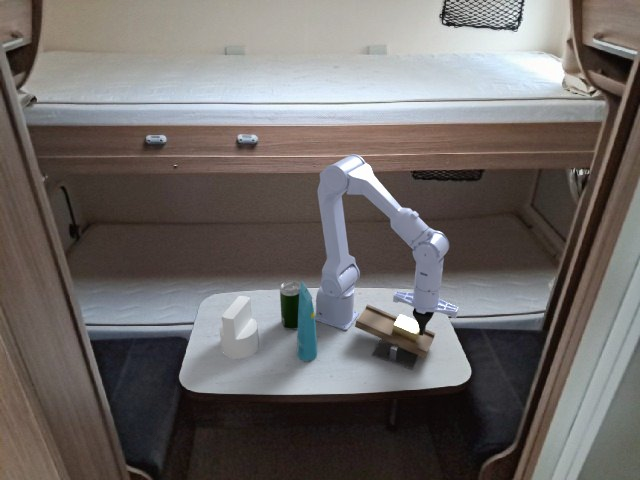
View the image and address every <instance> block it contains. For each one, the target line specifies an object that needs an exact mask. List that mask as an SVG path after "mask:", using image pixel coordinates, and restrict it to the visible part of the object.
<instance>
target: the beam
mask: <svg viewBox="0 0 640 480" xmlns="http://www.w3.org/2000/svg"><path fill="white" fill-rule="evenodd" d="M398 317H399V316H396V315H394V314H391V313H389V312H387V311H385V310H382V309H380V308H376V307H374V306H372V305H371V304H366V306H365V308H364V309H363V312H362V313H360V315H359V317H358V318H357V319H355V324H354V327H355V328H357V329H359V330H360V331H364V332H365V333H367V334H370V335H373V336H374V337H376V338H379V339H380V340H381V339H383V340H385V341H388V342H390V343H392V344H394V345H396V346H399V347H401V348H403V349H405V350H408V351H410V352H412V353H414V354H417V355H419V357H422V358H423V359H426V358H427V354H428V352H429V350H430V348H431V347H432V343H433V341H434V339H435V337H436V333H435V332H433V331H431V330H428V329H427V328H426V329H425V332H424V334H423V336H421V335H419V337H418V339H417V341H416V343H415V344H414V343H412V342H410V341H407V340H405V339H403V338H401V337H398V336H396V335H394V334H391V333H392V330H393V326H394V324H395V322H396V320H397V319H398Z"/></svg>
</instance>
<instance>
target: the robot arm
mask: <svg viewBox="0 0 640 480" xmlns="http://www.w3.org/2000/svg"><path fill="white" fill-rule="evenodd" d="M319 180H320V181H319V184H318V187H317V200H318V205H319V213H320V217H321V226H322V231H323V238H324V246H325V254H326V260H325V263H324V265H323V267H322V269H321V279H320V286H319V287H318V290H317V292H316V293H317V294H316V298H315V322H316V321H317V322H320V323H323V324H326V325H327V326H328V325H329V326H332V327H335V328H338V329H341V330H344V331H348V330H349V329H350V327H351V326H352V325H353V323H354V322H355V321H356V320H357V319H356V318H357V317H358V315H359V314H360V312H359V311H358V310H357V311H356V310H354V306H355V305H354V304H355V286H356V282H358V281H359V279H360V278H361V272H360V269H359V267H358V266H357V264H356V257H354V256H352V255H350V253H349V246H348V239H347V238H348V237H347V229H346V222H345V213H344V205H343V198H342V196H343V195H344V194H345V193H346V195H357V196H358V195H362V196H364V197H365V198H366V199H368V200H369V201H370V202H371V203H372V204H373V205H374V206H376V208H377V209H379V210H380V211H381V212H382V213H384V214H385V215H386V216H387V217H388V219H389V221H390V228H391V229H392V230H393V231H394V232H395V233H396V234H397V235H398V236H399V237H400V238H401V239H402V240H403V241H404V242H405V243H406V244H407V245H408V246H409V247H410V248H411V249H412V257H413V259H414V261H415V262H416V263H415V273H414V283H413V284H414V285H413V292H406V291H399V290H396V291H395V292H394V293H393V298H392V299H393V300H392V302H393V303H395V304H397V303H402V304H406V305H409V306H410V307H412V308H413V310H412V316H413V318H414V320H415V321H417V324H418V327H419V335H421V336H423V334H424V332H425V329H426V330H427V327H426V326H427V324H428V323H429V322H430V321H431V319H432V318H433V317H434V314H435V313H440V314H444V315H447V316H450V317H451V319H457V317H458V315H459V309H460V307H459V306H456V305H453V304H451V303H449V302H447V301H445V300H443V299H442V298H440V294H441V286H442V285H441V284H442V278H443V271H444V268H443V267H444V260H445V258H444V256H445V255H446V254H447V253H448V251H449V249H450V242H449V239H448V238H447V236H446V235H445V234H444V233H443V232H442V231H439V230H435V229H433V228H431V227H430V226H428V225H427V224H426V223H425V222H424V220H422V218H420V214H419V213H418V212H417V211H416V210H412V209H411V208H410V207H402V206H401V205H400V203H398V201H397V200H396V199H395V198H394V197H393V196H392V195H391V193H390V192H389V191H388V190H387V188H385V186H384V185H383V184H382V183H381V182H380V181H379V179H378V178H377V177H376V176H375V174H374V172H373V169H372V167H371V165H370V164H368V163H367V162H366V161H365V160H364V159H363V157H361V156H360V155H358V154H355V153H354V154H353V153H352V154H349V155H347V156H346V157H344V158H342V159H340V160H338V161H337V162H335V163H333V164H329V165H328V166H326V167H325V168H324V169H323V170H321V172H320V173H319Z"/></svg>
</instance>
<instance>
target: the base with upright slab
mask: <svg viewBox="0 0 640 480" xmlns="http://www.w3.org/2000/svg"><path fill="white" fill-rule="evenodd" d="M218 330H219V336H220V343H221V344H220V345H221V350H222V353H223V352H224V353H223V354H224V355H225V356H226V357H227V356H228V357H227V358H229V357H230V359H232V358H234V360H242V359H243V360H244V359H247V358H249V357H251V356H253V355H254V354H256V353H257V351H258V349H259V348H260V340H259V339H260V338H259V328H258V323H257V321H256V319H255V318H253V312H252V302H251V297H249V296H246V295H238V296H237V298H236V299H235V300H234V301H233V302H232V303H231V305H230V306H229V307H228V308H227V309H226V310H225V311H224V313H223V314H221V324H220V325H219V329H218Z"/></svg>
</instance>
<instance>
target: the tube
mask: <svg viewBox="0 0 640 480" xmlns="http://www.w3.org/2000/svg"><path fill="white" fill-rule="evenodd" d="M299 284H300V293H299V308H298V329H297V334H296V335H297V338H296V345H297V346H296V356H297V358H298V359H299V360H301V361H303V362H311V361H313V360H315V359H316V358H317V357H318V343H317V342H318V341H317V329H316V327H317V326H316V325H317V324H316V320H315V317H316V313H315V308H314V303H313V295H312V293H311V292H310V291H309V289H308V287H307V285H306V284H305V283H304V282H303V281H302V279H300V283H299Z"/></svg>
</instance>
